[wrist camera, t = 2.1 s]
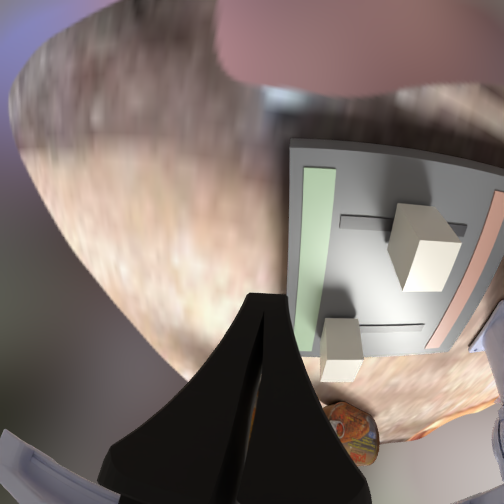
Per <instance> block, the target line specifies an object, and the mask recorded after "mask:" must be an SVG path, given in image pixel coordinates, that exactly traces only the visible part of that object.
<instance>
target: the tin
mask: <svg viewBox="0 0 504 504" xmlns="http://www.w3.org/2000/svg"><path fill="white" fill-rule="evenodd" d="M323 410H324V412H325V414H326V416H327V418H328V419H329V421H330V423H331V425H332V427H333V428H334V430H335V432H336V434H337V436H338V437H339V439H340V441H341V442H342V444H343V446H344V447H345V449H346V450H347V452H348V454H349V455H350V457H351V458H352V460H353V461H354V463H355V464H356V465H357V466H364V465H371V464H372V463H374V461H375V460H376V458H377V456H378V452H379V444H380V441H379V432H378V428H377V425H376V422H375V420H374V419H373V417H372V416H371V415H369V414H367V413H365V412H363V411H361V410H359V409H357V408H355V407H354V406H352V405H350V404H348V403H346V402H338V403H336V404H332V405H328V406H325V407H323Z"/></svg>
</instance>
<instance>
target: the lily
mask: <svg viewBox="0 0 504 504" xmlns="http://www.w3.org/2000/svg"><path fill="white" fill-rule="evenodd" d="M494 403H501V400H500V396H499V397H498V398H497V399H496V400H495V401H494Z"/></svg>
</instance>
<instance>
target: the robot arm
mask: <svg viewBox="0 0 504 504" xmlns="http://www.w3.org/2000/svg"><path fill="white" fill-rule="evenodd" d="M468 351H469V353H473V352H479V351H485V352H486V355H487V358H488V361H489V364H490V367H491V370H492V373H493V376H494V379H495V382H496V386H497V389H498V393H499V396H500V400H501V404H502V408H500V409H499V410H498V414H499V417H498V418H497V419H496V421H495V424H494V427H493V431H492V447H493V452H494V455H495V458H496V460H497V462H498V464H499V468H500V473H501V477H502V481H503V482H504V300H502V301H500V302H499V304H498V305H497V307H496V309H495V310H494V312H493V313H492V315H491V317H490V318H489V320H488V321H487V323H486V324H485V326H484V327H483V329H482V330H481V332H480V333H479V335H478V336H477V338H476V339H475V340H474V342H473V343H472V344H471V346H470V347H469V349H468ZM261 374H262V375H261ZM260 379H261V381H260ZM259 383H260V387H259ZM258 387H259V393H258V399H257V405H256V410H255V416H254V421H253V426H252V431H251V436H250V441H249V435H250V427H251V420H252V414H253V409H254V405H255V400H256V396H257V392H258ZM248 442H249V446H248ZM247 450H248V451H247ZM97 481H98V483H99V484H100V485H102V486H103V487H101V486H99V485H97V484H95V483H93V482H91V481H89V480H87V479H85V478H83V477H81V476H79V475H77V474H75V473H73V472H72V471H70V470H68V469H66V468H64V467H63V466H61V465H60V464H58V463H56V462H55V460H54V459H52V458H51V457H49V456H47V455H46V454H44V453H43V452H41V451H40V450H38V449H36V448H35V447H33V446H31V445H29V444H27V443H25V442H24V441H22V440H21V439H19V438H18V437H17V436H15V435H14V434H12V433H11V432H9V431H8V430H6V429H4V431H3V433H2V435H1V438H0V483H1V484H2V485H3V487H4V488H5V489H7V491H8V492H9V493H10V494H11V495H12V496H13V497H14V498H15V499H16V500H17V501H18V502H19V504H372V500H371V494H370V490H369V487H368V483H367V481H366V478H365V477H364V475H363V474H362V473H361V471H360V470H359V469H358V467H357V465H356V464H355V463H354V461H353V460H352V458H351V457H350V455H349V454H348V452H347V450H346V449H345V447H344V446H343V444H342V442H341V441H340V439H339V437H338V436H337V434H336V432H335V430H334V428H333V427H332V425H331V423H330V421H329V419H328V418H327V416H326V414H325V412H324V410H323V408H322V406H321V404H320V402H319V400H318V397H317V395H316V393H315V391H314V388H313V386H312V384H311V381H310V379H309V376H308V374H307V371H306V369H305V366H304V363H303V360H302V358H301V355H300V352H299V348H298V345H297V342H296V338H295V335H294V331H293V327H292V322H291V318H290V312H289V303H288V296H287V295H285V294H266V293H249V294H247V295H246V298H245V300H244V302H243V304H242V306H241V308H240V310H239V312H238V314H237V316H236V317H235V319H234V321H233V323H232V324H231V326H230V327H229V329H228V331H227V332H226V334H225V335H224V337H223V338H222V340H221V341H220V343H219V344H218V346H217V347H216V348H215V350H214V351H213V352H212V354H211V355H210V357H209V358H208V359H207V361H206V362H205V363H204V364H203V366H202V367H201V368H200V369H199V370H198V372H197V373H196V374H195V375H194V376H193V377H192V379H191V380H190V381H189V382H188V383H187V384H186V385H185V386H184V387H183V388H182V389H181V390H180V391H179V392H178V394H177V395H175V396H174V397H173V398H172V399H171V400H170V401H169V402H168V403H167V404H166V405H165V406H164V407H163V408H162V409H160V410H159V411H158V412H157V413H156V414H154V415H153V416H152V417H151V418H150V419H148V420H147V421H146V422H145V423H143V424H142V425H141V426H140V427H138V428H137V429H135V430H134V431H133V432H131V433H130V434H128V435H127V436H125V437H124V438H122V439H121V440H119V441H118V442H116V443H115V444H113V445H112V446H111V447H110V449H109V451H108V453H107V455H106V456H105V459H104V461H103V464H102V467H101V470H100V473H99V476H98V479H97ZM104 487H105V488H104ZM106 488H107V489H106ZM108 489H109V490H108ZM110 490H112V491H110ZM113 491H114V492H113ZM115 492H116V493H115ZM117 493H118V494H117ZM120 494H121V495H120ZM452 504H504V484H502V485H499V486H497V487H495V488H493V489H490V490H488V491H485V492H483V493H478V494H476V495H473V496H470V497H467V498H465V499H463V500H460V501H457V502H454V503H452Z"/></svg>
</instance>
